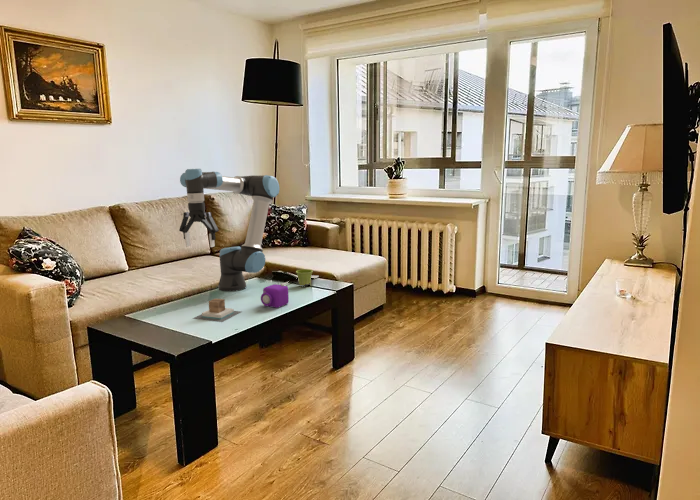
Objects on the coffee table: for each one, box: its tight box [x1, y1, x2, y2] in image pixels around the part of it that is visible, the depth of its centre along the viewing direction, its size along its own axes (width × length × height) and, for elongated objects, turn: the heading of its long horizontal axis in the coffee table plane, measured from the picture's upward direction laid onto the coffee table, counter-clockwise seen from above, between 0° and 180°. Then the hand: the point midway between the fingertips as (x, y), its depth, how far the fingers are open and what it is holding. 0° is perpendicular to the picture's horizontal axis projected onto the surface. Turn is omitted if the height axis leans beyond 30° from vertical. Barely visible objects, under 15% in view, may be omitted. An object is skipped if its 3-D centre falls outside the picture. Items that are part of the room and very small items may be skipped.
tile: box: [201, 307, 235, 319], centre depth 224 cm, size 10×2×10 cm
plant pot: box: [295, 268, 313, 285], centre depth 276 cm, size 9×9×9 cm
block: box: [208, 298, 226, 313], centre depth 223 cm, size 5×5×5 cm
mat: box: [191, 310, 242, 323], centre depth 224 cm, size 16×16×1 cm
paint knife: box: [279, 274, 319, 285], centre depth 289 cm, size 30×14×2 cm, turn 150°
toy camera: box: [260, 283, 290, 309], centre depth 238 cm, size 11×14×10 cm
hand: (200, 246), depth 235 cm, fingers open, 13 cm apart
